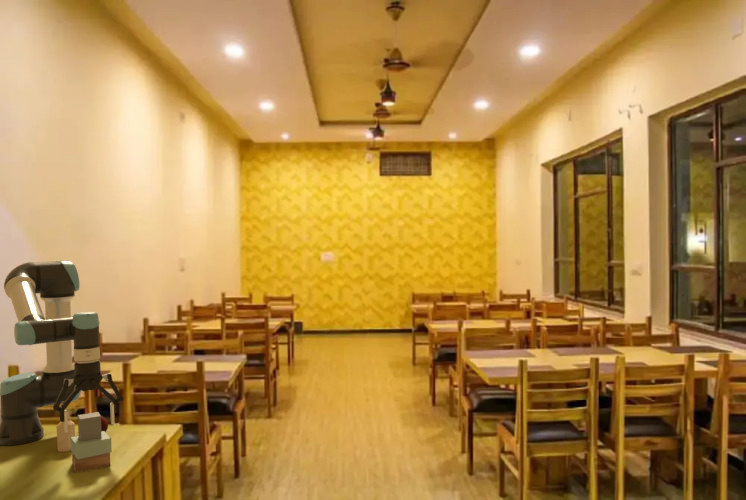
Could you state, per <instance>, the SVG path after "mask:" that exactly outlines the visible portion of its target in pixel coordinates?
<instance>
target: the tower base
mask: <svg viewBox="0 0 746 500" xmlns="http://www.w3.org/2000/svg"><path fill="white" fill-rule="evenodd" d="M71 456H72V457H71V461H72V462H71V464H72V466H73V470H74V472H75V474H76V473H81V472H87V471H92V470H97V469H102V468H103V469H104V468H108V467H111V453H106V454H101V455H97V456H92V457H87V458H82V459H78V460H77V459H76V457H75V456H74V455H73V453H72V452H71ZM107 466H108V467H107Z"/></svg>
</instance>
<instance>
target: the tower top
mask: <svg viewBox="0 0 746 500" xmlns="http://www.w3.org/2000/svg"><path fill="white" fill-rule="evenodd" d="M101 435H102V438H99V439H93V440H88V441H82V442H81V441H80V439H79V435H77V436H76V435H75V437H71V451H70V452H71V454H72V453H73V455H74V456H75V457H76V459H77V460H78V459H82V458H87V457H92V456H97V455H101V454H106V453H110V454H111V453H112V451H113V450H112V437H110V436H109V434H108V433H106V432H104V431H101Z"/></svg>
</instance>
